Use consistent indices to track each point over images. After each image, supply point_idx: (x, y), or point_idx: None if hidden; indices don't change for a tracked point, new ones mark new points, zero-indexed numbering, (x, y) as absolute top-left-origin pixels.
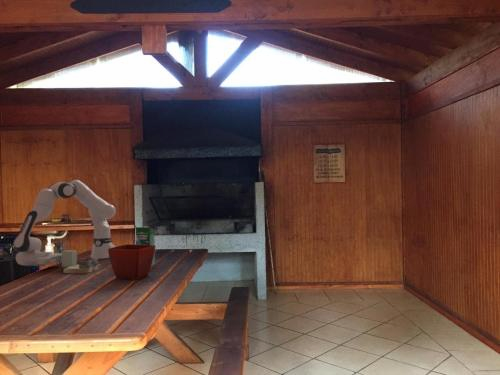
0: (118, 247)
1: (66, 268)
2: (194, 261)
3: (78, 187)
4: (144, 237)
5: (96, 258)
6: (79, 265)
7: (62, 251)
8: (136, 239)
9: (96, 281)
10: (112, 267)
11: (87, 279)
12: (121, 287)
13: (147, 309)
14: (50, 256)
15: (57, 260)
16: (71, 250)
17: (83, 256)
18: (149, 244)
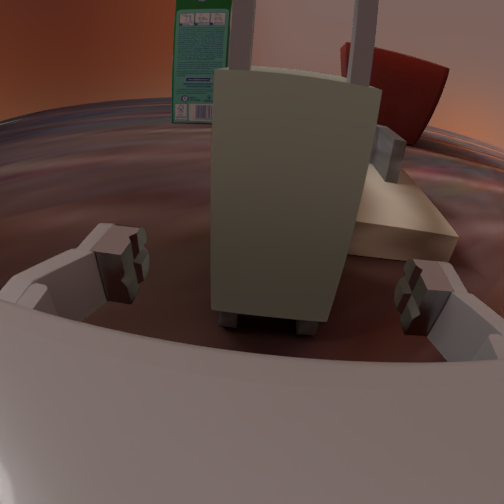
0: (397, 56)
1: (440, 226)
2: (165, 98)
3: None
4: None
5: None
6: (400, 165)
7: (377, 89)
8: (230, 25)
9: (460, 168)
10: (430, 117)
11: (462, 180)
12: (460, 149)
13: (497, 148)
14: (378, 465)
15: (402, 278)
16: (258, 67)
17: None
18: None
